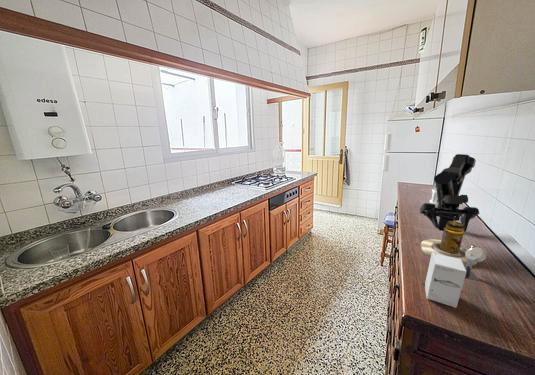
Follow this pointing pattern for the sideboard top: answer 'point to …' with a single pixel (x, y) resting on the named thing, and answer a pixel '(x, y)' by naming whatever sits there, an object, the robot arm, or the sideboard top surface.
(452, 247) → the condiment
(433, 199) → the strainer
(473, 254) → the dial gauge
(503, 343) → the sideboard top surface
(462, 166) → the robot arm
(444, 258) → the supplement box
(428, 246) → the ring
